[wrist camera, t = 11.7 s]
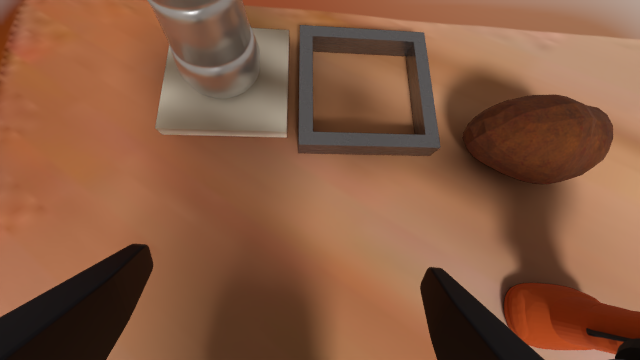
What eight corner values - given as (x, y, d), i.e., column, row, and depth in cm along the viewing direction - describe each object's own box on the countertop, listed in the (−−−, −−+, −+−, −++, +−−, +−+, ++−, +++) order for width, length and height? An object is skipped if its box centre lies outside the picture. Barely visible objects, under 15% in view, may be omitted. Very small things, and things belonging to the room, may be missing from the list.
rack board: (286, 137, 24) (286, 131, 23) (162, 134, 23) (155, 128, 22) (289, 39, 27) (288, 30, 26) (178, 33, 26) (173, 23, 25)
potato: (569, 193, 25) (687, 168, 18) (456, 195, 24) (528, 169, 17) (549, 121, 27) (646, 71, 20) (443, 120, 26) (502, 66, 19)
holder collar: (429, 155, 25) (440, 147, 23) (298, 153, 24) (298, 144, 22) (415, 47, 28) (424, 32, 27) (299, 40, 27) (300, 24, 25)
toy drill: (375, 271, 20) (632, 317, 6) (570, 284, 24) (1019, 332, 10) (375, 343, 19) (699, 603, 5) (581, 345, 23) (1119, 504, 8)
